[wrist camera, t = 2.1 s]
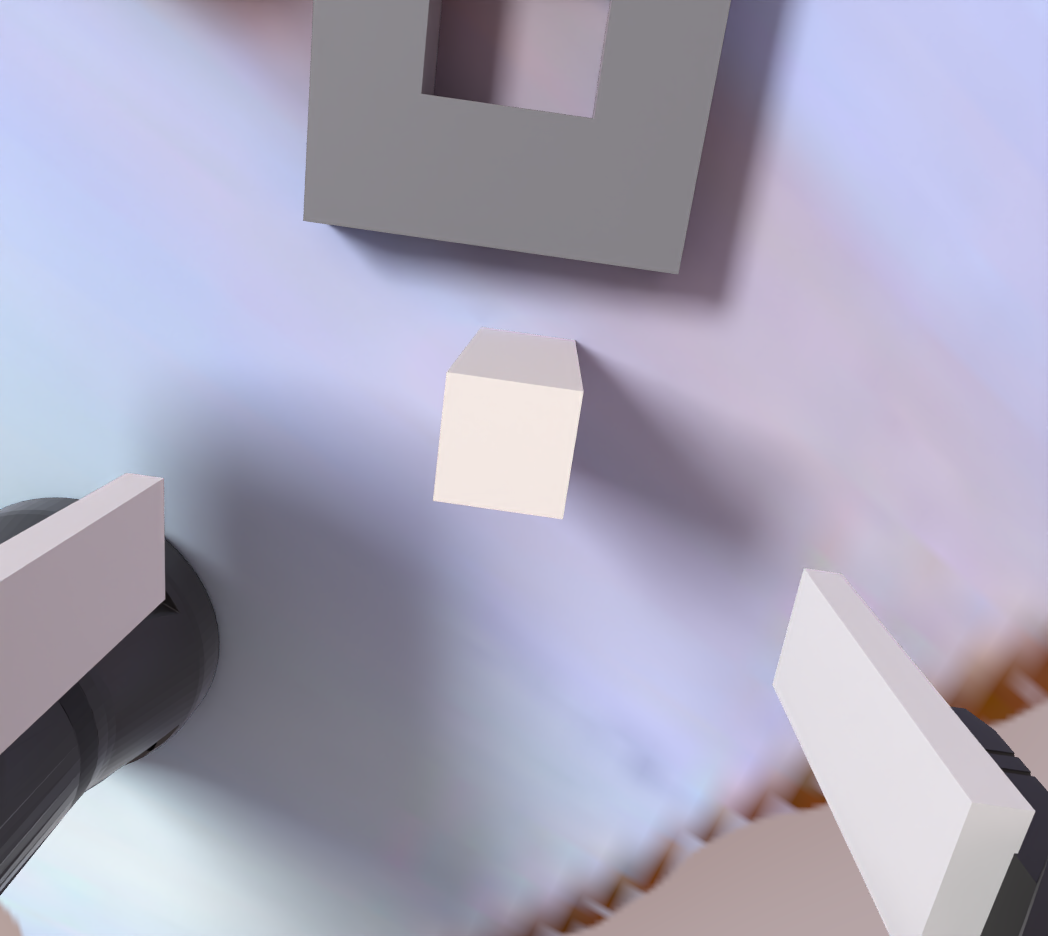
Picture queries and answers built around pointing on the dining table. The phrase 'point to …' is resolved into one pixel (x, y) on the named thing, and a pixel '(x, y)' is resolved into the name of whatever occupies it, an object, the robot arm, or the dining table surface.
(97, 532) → the robot arm
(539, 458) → the plug
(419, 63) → the socket
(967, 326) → the dining table surface
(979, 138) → the dining table surface
